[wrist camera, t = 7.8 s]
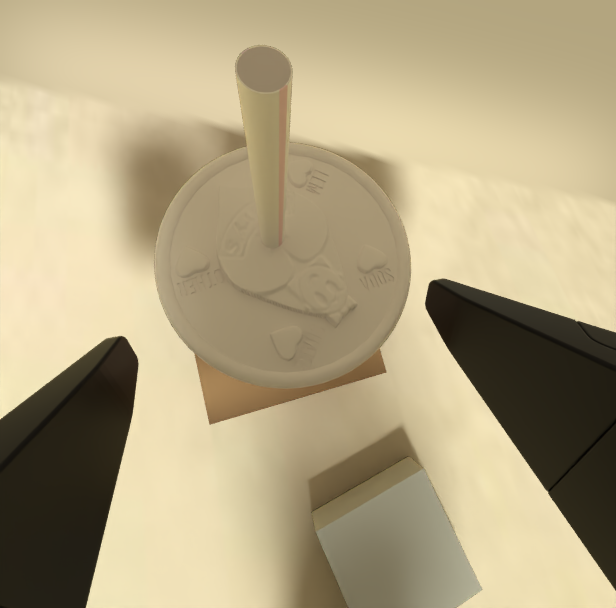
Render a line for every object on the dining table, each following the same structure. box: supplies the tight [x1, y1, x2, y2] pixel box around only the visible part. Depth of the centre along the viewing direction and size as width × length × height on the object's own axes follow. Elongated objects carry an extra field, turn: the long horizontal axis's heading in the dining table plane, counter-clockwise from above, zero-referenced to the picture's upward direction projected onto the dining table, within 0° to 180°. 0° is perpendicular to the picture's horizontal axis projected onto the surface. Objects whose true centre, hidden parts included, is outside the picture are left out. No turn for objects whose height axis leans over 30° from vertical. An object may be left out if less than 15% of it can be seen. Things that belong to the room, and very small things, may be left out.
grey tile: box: [311, 456, 482, 608], centre depth 17 cm, size 7×7×2 cm
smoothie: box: [154, 45, 411, 389], centre depth 10 cm, size 6×6×14 cm
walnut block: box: [195, 349, 386, 424], centre depth 18 cm, size 10×10×3 cm
